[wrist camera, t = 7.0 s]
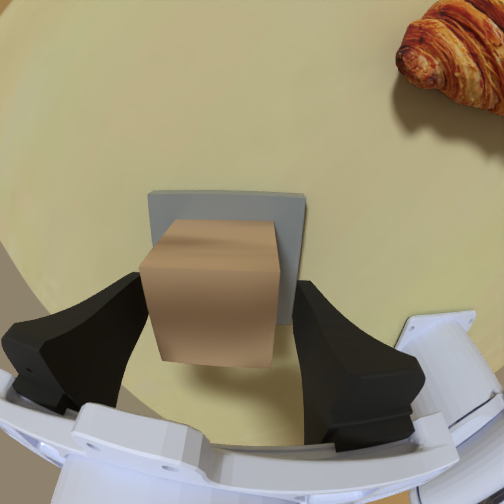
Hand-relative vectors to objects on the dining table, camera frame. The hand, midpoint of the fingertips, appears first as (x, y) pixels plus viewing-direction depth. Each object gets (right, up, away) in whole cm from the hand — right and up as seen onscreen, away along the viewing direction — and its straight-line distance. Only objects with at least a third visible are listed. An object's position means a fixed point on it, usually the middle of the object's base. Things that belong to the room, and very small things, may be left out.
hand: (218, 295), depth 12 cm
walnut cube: (0, +1, +2) cm, 3 cm away
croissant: (+18, +16, -4) cm, 24 cm away
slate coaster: (0, +2, +3) cm, 3 cm away
